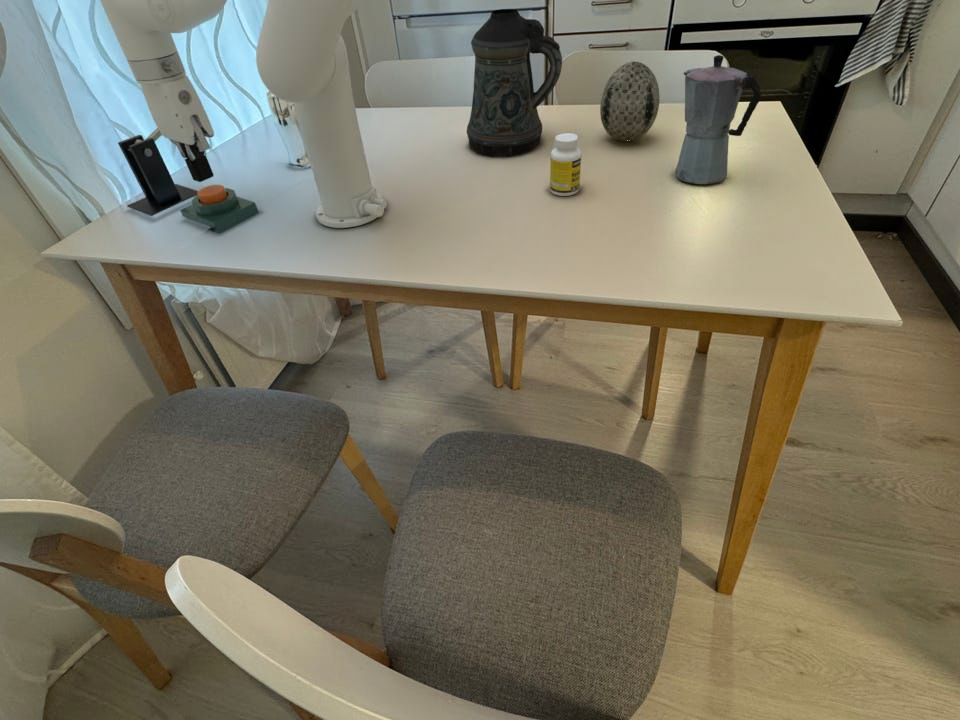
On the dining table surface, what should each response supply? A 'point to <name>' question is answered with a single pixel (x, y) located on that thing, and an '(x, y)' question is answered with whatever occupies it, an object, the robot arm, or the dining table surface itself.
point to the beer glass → (289, 130)
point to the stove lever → (154, 135)
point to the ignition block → (221, 212)
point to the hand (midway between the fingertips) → (203, 178)
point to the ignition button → (212, 194)
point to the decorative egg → (630, 102)
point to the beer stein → (509, 84)
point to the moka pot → (712, 120)
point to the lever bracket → (152, 177)
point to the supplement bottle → (565, 165)
